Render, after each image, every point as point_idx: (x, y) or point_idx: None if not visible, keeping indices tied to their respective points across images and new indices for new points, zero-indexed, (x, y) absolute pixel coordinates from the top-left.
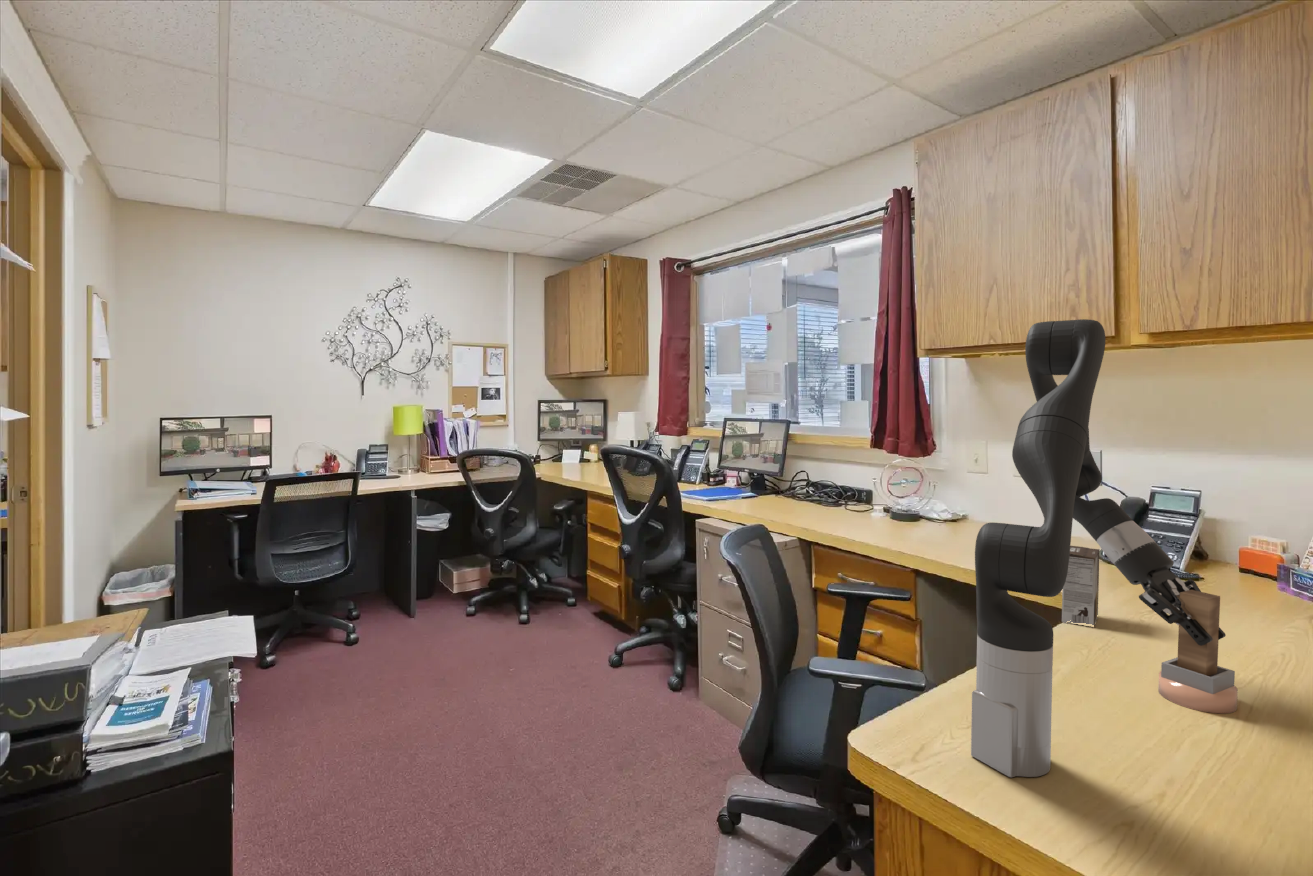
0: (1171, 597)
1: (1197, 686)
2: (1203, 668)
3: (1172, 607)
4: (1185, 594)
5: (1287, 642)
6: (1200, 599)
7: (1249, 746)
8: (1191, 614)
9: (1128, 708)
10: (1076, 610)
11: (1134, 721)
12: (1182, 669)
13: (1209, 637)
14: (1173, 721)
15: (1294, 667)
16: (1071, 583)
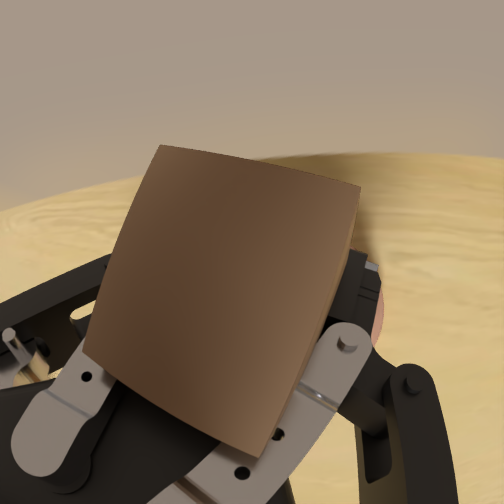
0: (284, 483)
1: None
2: None
3: (432, 438)
4: (278, 411)
5: (8, 221)
6: (337, 269)
7: (470, 214)
8: (319, 335)
9: (453, 402)
10: None
11: (500, 376)
12: None
13: (363, 256)
14: (462, 328)
15: (63, 201)
16: None
